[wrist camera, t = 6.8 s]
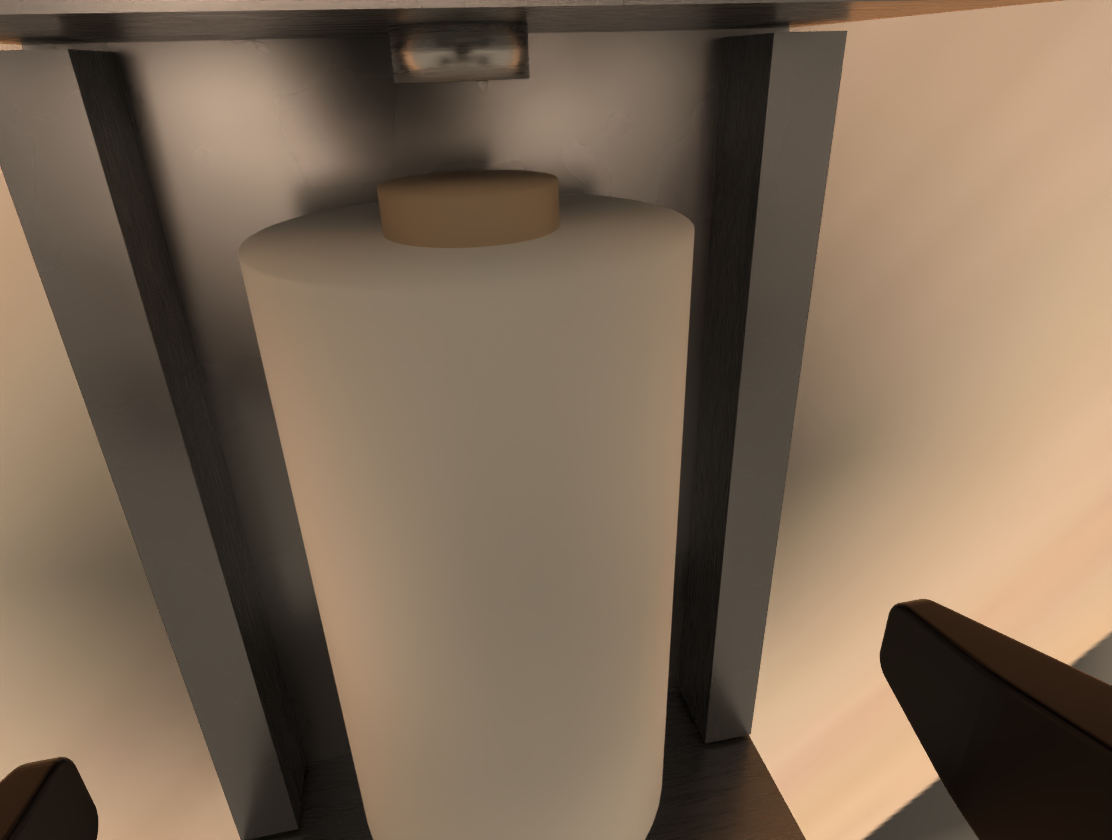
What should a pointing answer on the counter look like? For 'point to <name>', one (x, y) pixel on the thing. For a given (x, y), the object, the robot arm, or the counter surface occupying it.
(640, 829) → the roll
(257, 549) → the holder
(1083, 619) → the counter surface
